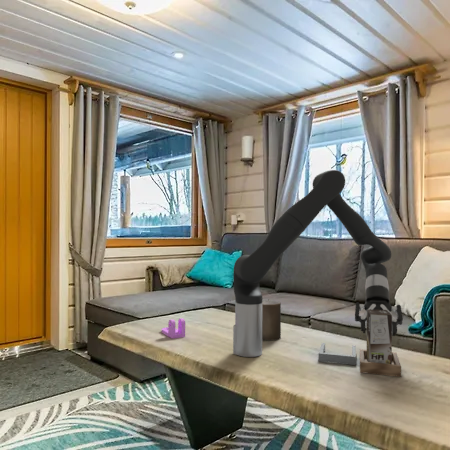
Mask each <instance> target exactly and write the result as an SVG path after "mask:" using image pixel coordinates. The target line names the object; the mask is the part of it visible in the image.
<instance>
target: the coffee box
mask: <svg viewBox="0 0 450 450" xmlns="http://www.w3.org/2000/svg"><path fill="white" fill-rule="evenodd" d="M392 315H393V314H392ZM392 315H391V314H390V313H389V312H388V311H387V310H369V309H367V321H366V350H367V361H368V362H375V363H384V364H392V352H393V350H392V349H393V347H392V346H393V342H392V341H393V336H392Z"/></svg>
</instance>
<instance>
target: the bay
mask: <svg viewBox="0 0 450 450" xmlns="http://www.w3.org/2000/svg"><path fill="white" fill-rule="evenodd" d="M356 352H357V347H356V345H351V355H350V354H340V353H330V352H326V342H321V344H320V347H319V351H318V354H317V355H318V357H317V358H318V362H323V363H331V364H332V363H334V364H340V365H341V364H344V365H350V366H351V365H352V366H353V365H354V366H356V365H357V364H356V363H357V353H356Z"/></svg>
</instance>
